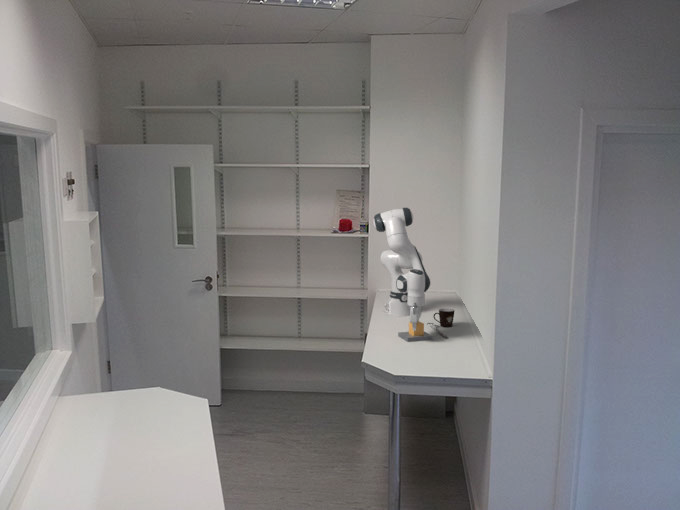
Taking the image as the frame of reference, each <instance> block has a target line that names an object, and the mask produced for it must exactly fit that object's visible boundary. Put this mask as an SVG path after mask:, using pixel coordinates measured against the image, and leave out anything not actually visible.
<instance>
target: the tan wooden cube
mask: <svg viewBox="0 0 680 510" xmlns="http://www.w3.org/2000/svg"><path fill="white" fill-rule="evenodd" d="M408 332H409V334H411V335H413V336H419V335H424V332H425V323H423V322H422V321H420V320H419V321H418V322H417V324H416V331H413V327H412V323H410V321H408Z"/></svg>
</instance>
